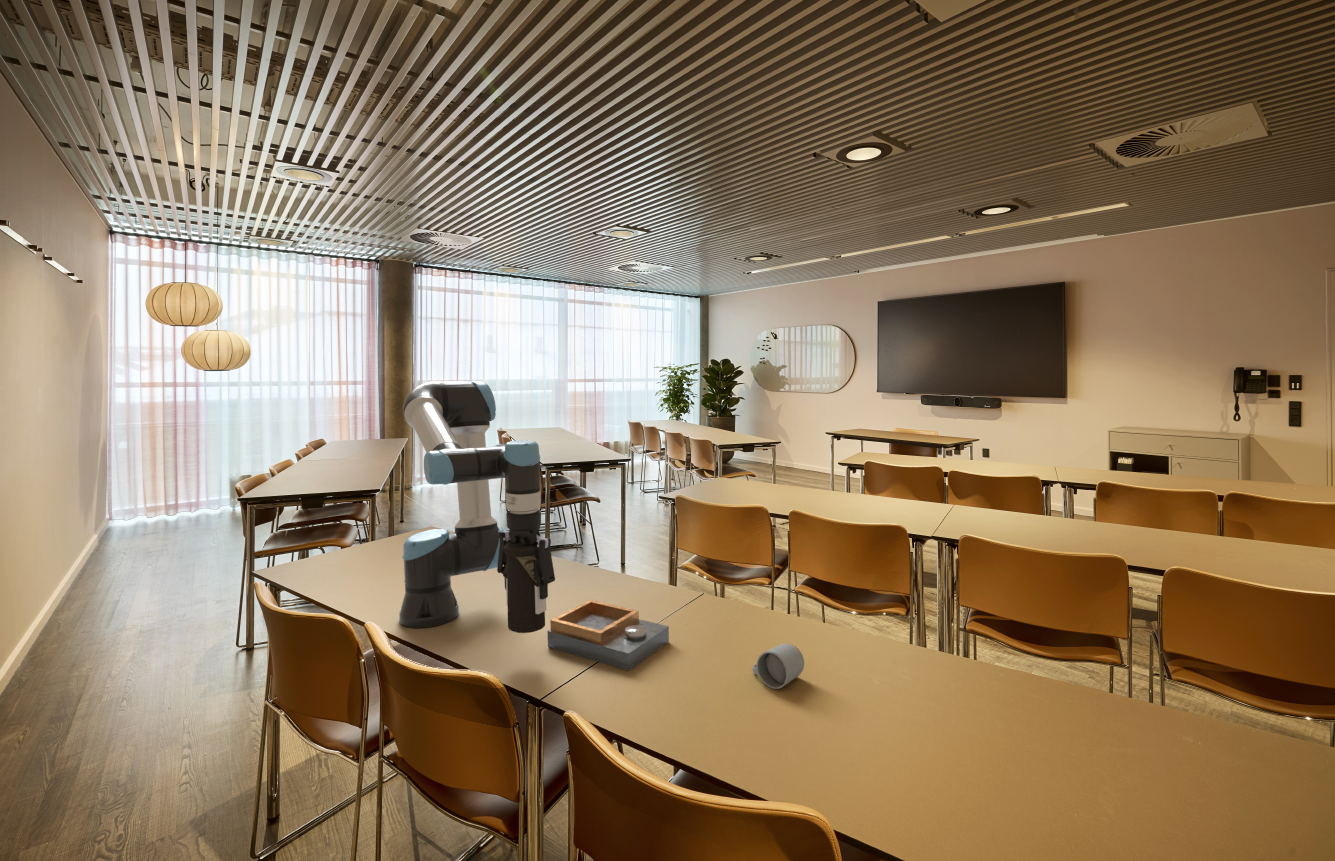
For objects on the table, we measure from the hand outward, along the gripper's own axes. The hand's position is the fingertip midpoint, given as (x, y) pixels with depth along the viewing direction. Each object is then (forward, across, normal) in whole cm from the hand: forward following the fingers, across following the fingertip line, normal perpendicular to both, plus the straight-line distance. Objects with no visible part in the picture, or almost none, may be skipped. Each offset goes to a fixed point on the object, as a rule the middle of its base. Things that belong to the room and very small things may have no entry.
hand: (526, 607), depth 138 cm
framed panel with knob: (+13, +11, +17) cm, 24 cm away
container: (+5, 0, 0) cm, 5 cm away
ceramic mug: (+13, +52, +21) cm, 57 cm away
